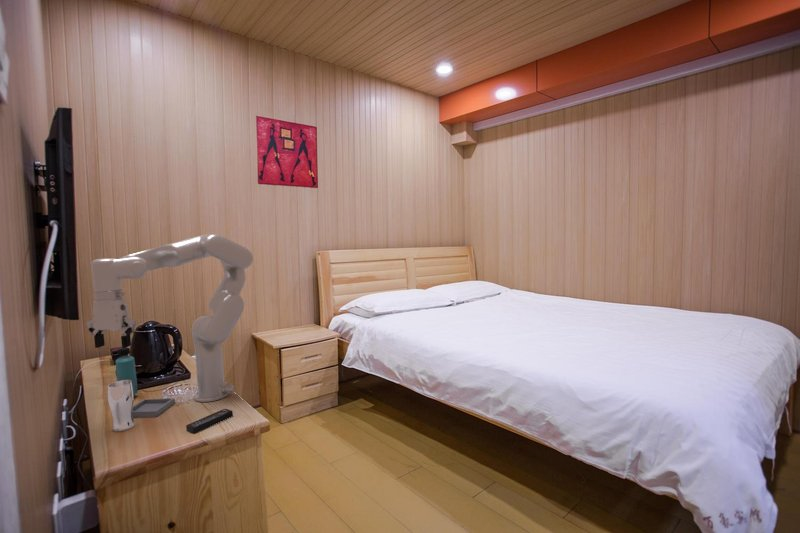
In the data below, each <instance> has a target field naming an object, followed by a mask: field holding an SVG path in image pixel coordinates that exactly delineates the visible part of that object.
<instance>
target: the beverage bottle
mask: <svg viewBox="0 0 800 533" xmlns="http://www.w3.org/2000/svg"><path fill="white" fill-rule="evenodd" d="M129 354H131V348H130V347H126V348H122V347H121V348H119V349H118V350H117V355H118V356H120V357H118V358H117V359H116V360H115V361H114V362H115V368H116V374H115V375H116V378H117V380H116V381H121V380H131V381H132V387H133V396H136V395H137V394H138V392H139V390H138V388H139V387H138V386H139V385H138V380H137V372H136V362H135V357H134V356H131V355H129Z"/></svg>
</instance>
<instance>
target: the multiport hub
mask: <svg viewBox="0 0 800 533" xmlns="http://www.w3.org/2000/svg"><path fill="white" fill-rule="evenodd" d="M231 416H232V417H233V416H234V415H233V410H231V409H228V408H223V409H221V410H217V411H215V412H214V413H211V414H209V415H207V416H205V417H204V416H203V417H202V418H200V419H198V420H195V421H193V422H190V423H188V424H186V426H185V428H186V432H188V433H191V434H194V435H195V434H197V433H199V432H201V431H203V430H206V429H208V428H210V426H211V427H212V425H213V426H215V425H217V424H219V423H221V422H220V421H222V422H223V420H224V421H226V420H228V419H230V418H232V417H231ZM229 417H230V418H229ZM227 418H228V419H227ZM225 419H226V420H225ZM218 422H219V423H218ZM216 423H217V424H216ZM214 424H215V425H214Z"/></svg>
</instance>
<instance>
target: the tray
mask: <svg viewBox="0 0 800 533" xmlns="http://www.w3.org/2000/svg"><path fill="white" fill-rule="evenodd" d="M175 400H176V399H175V398H174V397H172V398H171V397H166V398H163V397H162V398H143V399H142V400H141V401H139V402H137V403H136V404H133V409H132V416H133V419H135V418H157V417H159V416H160V415H162V414H163V413H164V412H165V411H167V410H168V409H170V408H171V407H172V406H174V405H175V404H176V401H175Z"/></svg>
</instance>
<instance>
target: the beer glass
mask: <svg viewBox="0 0 800 533" xmlns="http://www.w3.org/2000/svg"><path fill="white" fill-rule="evenodd" d="M134 396H135V395H133V387H132V381H131V380H121V381H117V380H116V381H112V382H111V383H109V384H108V385H107V400H108V404H109V409H110V412H111V415H112V418H113V419H112V420H113V421H112V422H113V423H112V431H113V432H123V431H126V430H129V429H132V428H133V427H135V420H134V418H133V416H132V409H133V406H134Z"/></svg>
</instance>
